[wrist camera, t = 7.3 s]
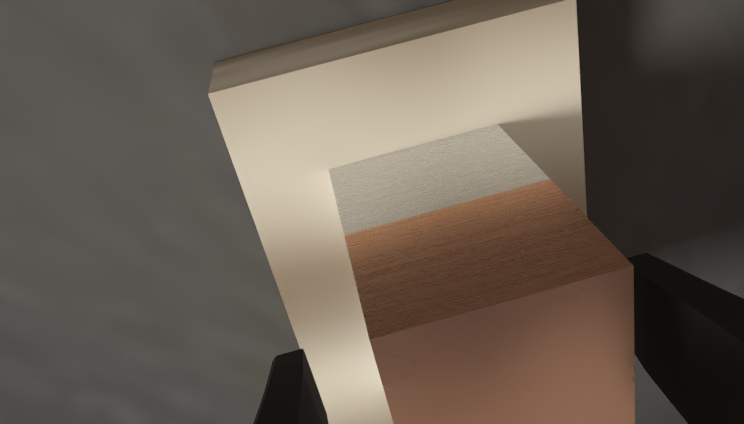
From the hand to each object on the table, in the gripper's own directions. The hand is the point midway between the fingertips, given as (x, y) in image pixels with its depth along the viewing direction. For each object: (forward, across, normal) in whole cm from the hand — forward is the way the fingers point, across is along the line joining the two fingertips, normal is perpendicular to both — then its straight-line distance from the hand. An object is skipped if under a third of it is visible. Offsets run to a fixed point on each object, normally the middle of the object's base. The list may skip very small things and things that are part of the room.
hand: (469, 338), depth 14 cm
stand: (+5, 0, 0) cm, 5 cm away
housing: (+3, 0, 0) cm, 3 cm away
